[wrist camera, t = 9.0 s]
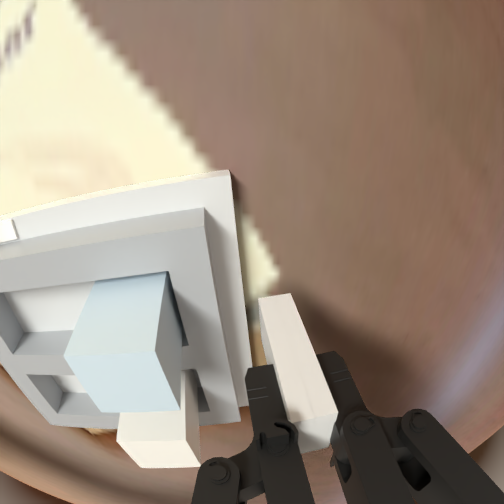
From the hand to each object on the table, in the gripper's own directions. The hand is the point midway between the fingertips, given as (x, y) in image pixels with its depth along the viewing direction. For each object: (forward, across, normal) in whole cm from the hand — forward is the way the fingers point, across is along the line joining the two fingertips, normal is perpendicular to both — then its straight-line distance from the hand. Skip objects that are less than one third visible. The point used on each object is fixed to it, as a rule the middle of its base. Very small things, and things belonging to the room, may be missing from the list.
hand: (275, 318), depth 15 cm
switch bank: (+5, -11, -4) cm, 13 cm away
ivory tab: (+4, -8, -7) cm, 11 cm away
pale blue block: (+4, -7, 0) cm, 8 cm away
